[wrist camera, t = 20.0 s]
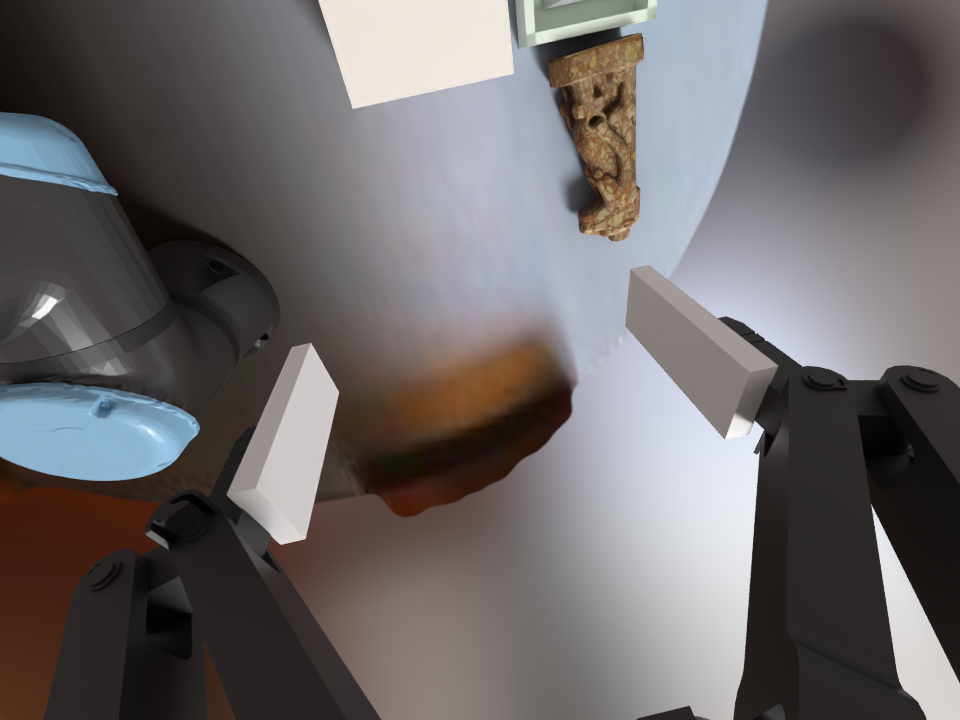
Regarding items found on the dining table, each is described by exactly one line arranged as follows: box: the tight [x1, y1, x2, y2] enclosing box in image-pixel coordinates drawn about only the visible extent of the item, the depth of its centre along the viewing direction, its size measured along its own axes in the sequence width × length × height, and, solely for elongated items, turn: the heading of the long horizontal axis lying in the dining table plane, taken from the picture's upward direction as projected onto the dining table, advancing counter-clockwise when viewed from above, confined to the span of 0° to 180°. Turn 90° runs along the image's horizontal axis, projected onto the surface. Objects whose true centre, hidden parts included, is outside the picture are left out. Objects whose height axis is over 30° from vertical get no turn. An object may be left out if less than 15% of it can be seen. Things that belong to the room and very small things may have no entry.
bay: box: [318, 0, 514, 109], centre depth 28 cm, size 11×9×13 cm
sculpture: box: [548, 33, 644, 241], centre depth 39 cm, size 8×19×5 cm, turn 15°
